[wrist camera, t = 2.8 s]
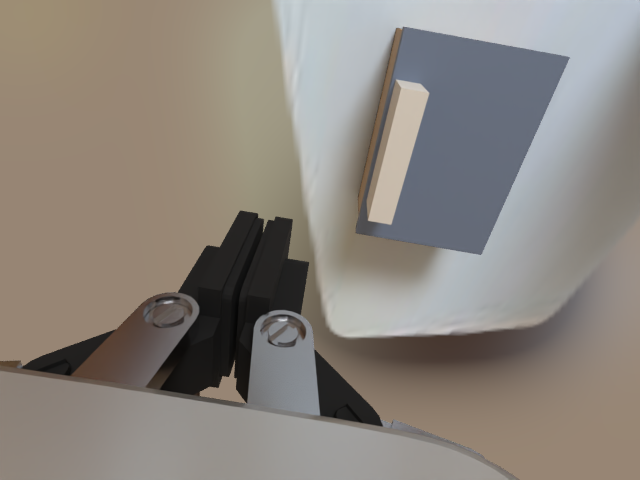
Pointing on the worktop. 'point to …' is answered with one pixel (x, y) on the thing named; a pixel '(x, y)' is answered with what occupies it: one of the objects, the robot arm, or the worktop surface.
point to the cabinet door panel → (453, 138)
